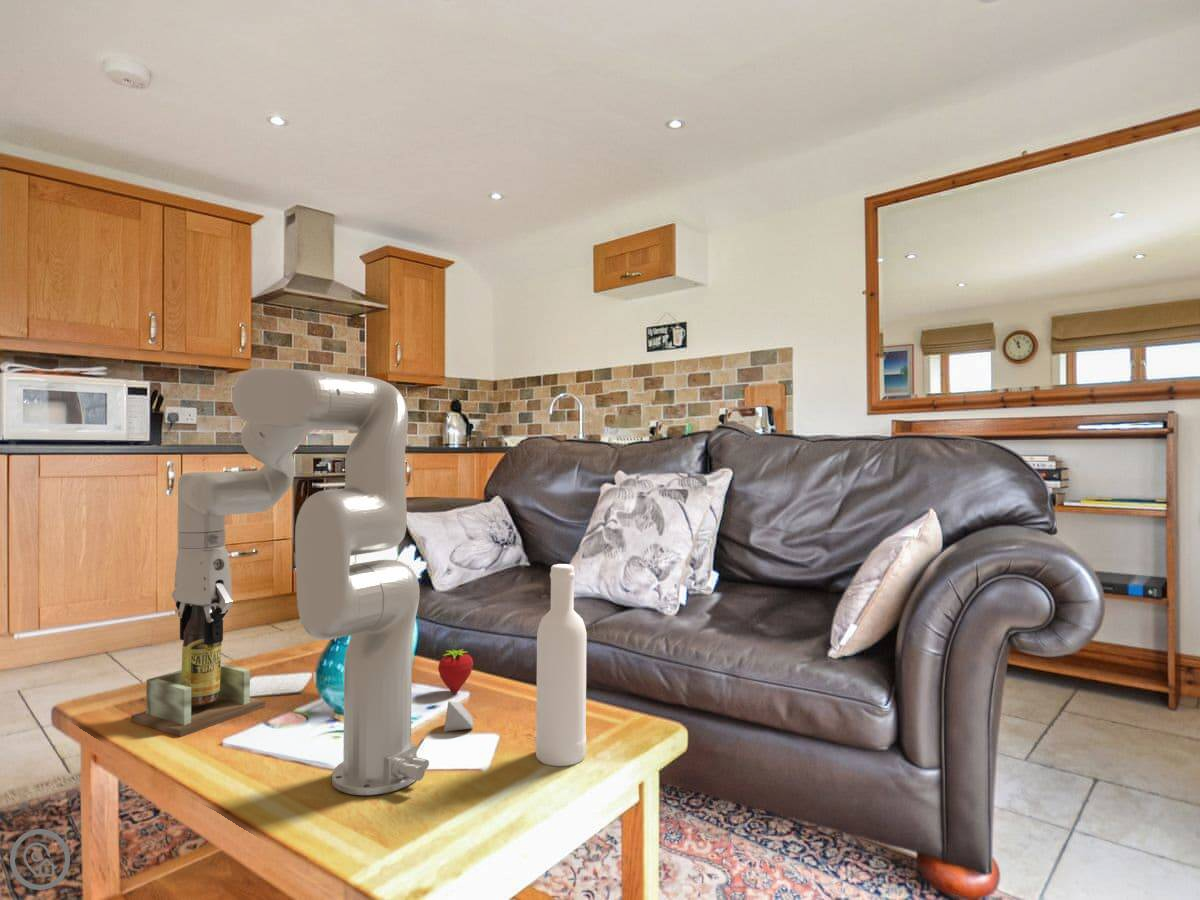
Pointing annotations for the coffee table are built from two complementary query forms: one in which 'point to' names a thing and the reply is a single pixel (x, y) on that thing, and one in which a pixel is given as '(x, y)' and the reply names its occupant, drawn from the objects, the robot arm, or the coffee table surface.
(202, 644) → the sauce bottle
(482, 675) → the coffee table surface
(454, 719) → the grey pyramid
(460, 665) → the strawberry
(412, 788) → the coffee table surface
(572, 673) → the bottle
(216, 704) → the rest
